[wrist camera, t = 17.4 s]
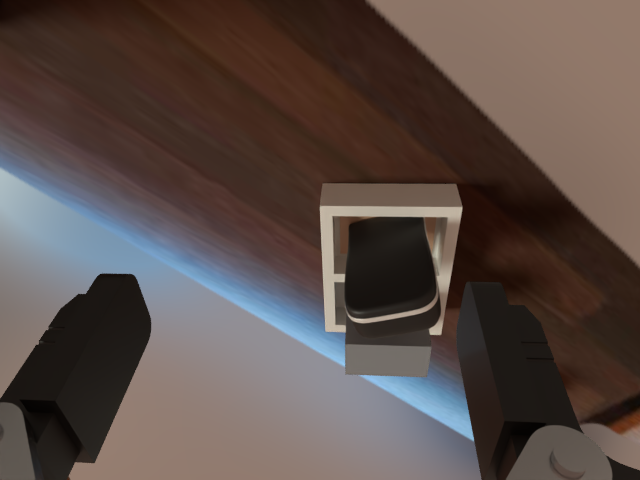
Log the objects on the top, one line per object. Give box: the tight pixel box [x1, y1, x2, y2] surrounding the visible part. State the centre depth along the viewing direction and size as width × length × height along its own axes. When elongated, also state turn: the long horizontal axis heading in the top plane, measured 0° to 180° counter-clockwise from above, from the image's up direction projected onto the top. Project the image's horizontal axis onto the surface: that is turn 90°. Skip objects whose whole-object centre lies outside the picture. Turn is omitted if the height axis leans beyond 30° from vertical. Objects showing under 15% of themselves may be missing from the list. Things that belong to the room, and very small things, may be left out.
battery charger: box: [344, 217, 441, 339], centre depth 39 cm, size 7×4×11 cm, turn 109°
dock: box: [320, 183, 463, 377], centre depth 43 cm, size 11×15×10 cm
